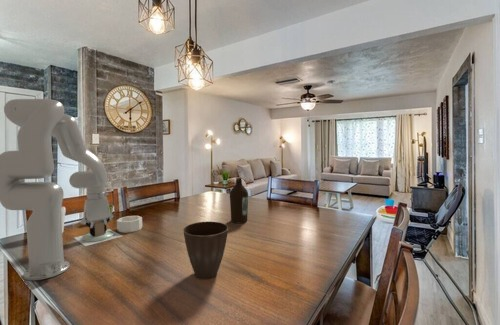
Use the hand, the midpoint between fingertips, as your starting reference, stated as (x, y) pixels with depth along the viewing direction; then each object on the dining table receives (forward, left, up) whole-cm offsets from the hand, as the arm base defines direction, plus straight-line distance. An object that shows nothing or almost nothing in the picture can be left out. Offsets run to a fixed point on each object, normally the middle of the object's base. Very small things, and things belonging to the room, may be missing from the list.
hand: (98, 233), depth 123 cm
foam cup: (+22, +12, -2) cm, 25 cm away
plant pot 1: (+27, -13, -2) cm, 30 cm away
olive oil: (-33, -63, -2) cm, 71 cm away
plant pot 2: (-66, -11, -2) cm, 67 cm away
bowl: (0, -15, -2) cm, 15 cm away
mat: (0, 0, -2) cm, 2 cm away
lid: (0, 0, -2) cm, 2 cm away
